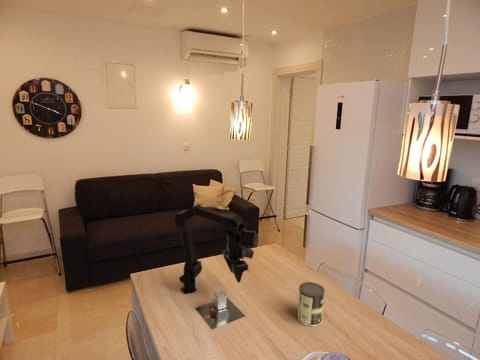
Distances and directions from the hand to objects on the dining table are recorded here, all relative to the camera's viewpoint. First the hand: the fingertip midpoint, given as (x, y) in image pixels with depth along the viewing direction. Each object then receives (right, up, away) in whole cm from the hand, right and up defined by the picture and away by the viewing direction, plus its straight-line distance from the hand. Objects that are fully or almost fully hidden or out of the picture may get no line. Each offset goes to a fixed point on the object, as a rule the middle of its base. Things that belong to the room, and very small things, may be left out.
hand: (235, 277), depth 137 cm
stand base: (-7, -14, -5) cm, 16 cm away
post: (-7, -13, -5) cm, 16 cm away
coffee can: (+31, -16, -6) cm, 36 cm away
